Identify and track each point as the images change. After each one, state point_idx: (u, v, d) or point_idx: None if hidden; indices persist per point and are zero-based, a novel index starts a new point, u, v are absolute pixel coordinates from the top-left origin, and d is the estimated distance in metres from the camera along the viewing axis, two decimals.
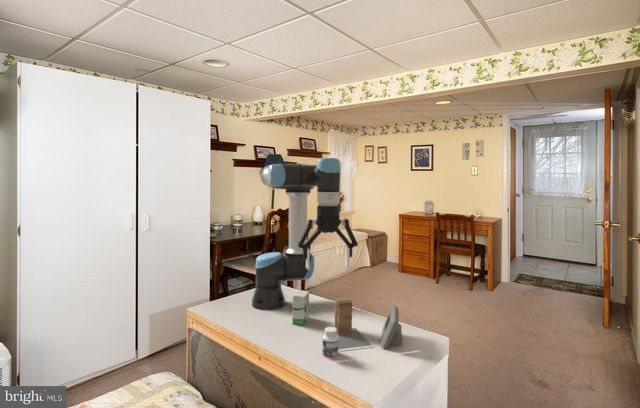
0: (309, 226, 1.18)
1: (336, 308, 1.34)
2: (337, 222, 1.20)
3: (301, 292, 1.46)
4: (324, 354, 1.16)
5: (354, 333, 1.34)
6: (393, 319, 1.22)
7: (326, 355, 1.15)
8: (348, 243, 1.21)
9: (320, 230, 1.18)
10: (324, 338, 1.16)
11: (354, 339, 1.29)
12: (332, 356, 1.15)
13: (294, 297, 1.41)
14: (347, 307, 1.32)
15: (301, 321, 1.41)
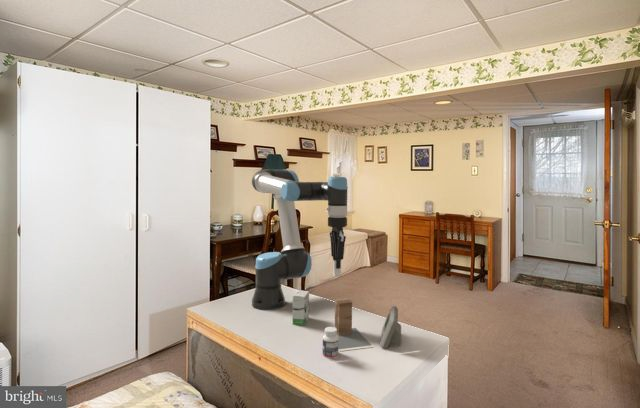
0: (330, 237, 1.45)
1: (336, 308, 1.34)
2: (337, 232, 1.38)
3: (301, 292, 1.46)
4: (324, 354, 1.16)
5: (354, 333, 1.34)
6: (392, 319, 1.22)
7: (326, 355, 1.15)
8: (335, 255, 1.40)
9: (332, 238, 1.42)
10: (324, 338, 1.16)
11: (354, 339, 1.29)
12: (332, 356, 1.15)
13: (294, 297, 1.41)
14: (347, 307, 1.32)
15: (301, 321, 1.41)
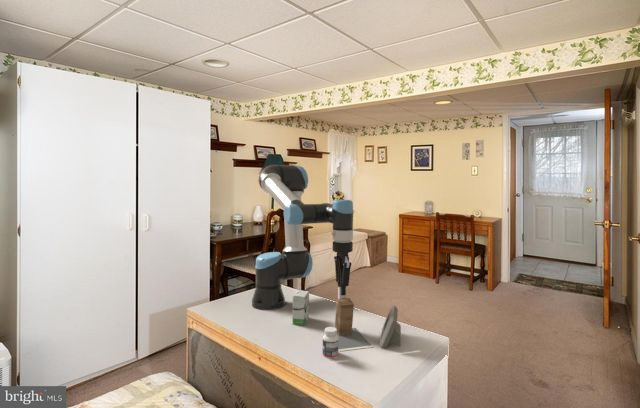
0: (335, 261, 1.40)
1: (337, 308, 1.33)
2: (342, 257, 1.32)
3: (301, 292, 1.46)
4: (324, 354, 1.16)
5: (354, 333, 1.34)
6: (391, 318, 1.22)
7: (326, 355, 1.15)
8: (340, 281, 1.34)
9: (337, 264, 1.36)
10: (324, 338, 1.16)
11: (354, 339, 1.29)
12: (332, 356, 1.15)
13: (294, 297, 1.41)
14: (348, 309, 1.31)
15: (301, 321, 1.41)
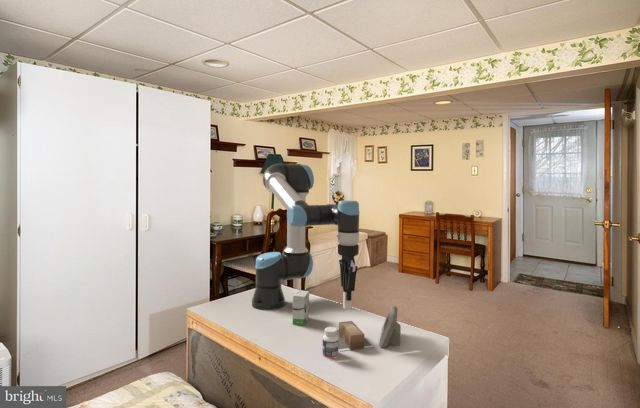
0: (340, 265, 1.34)
1: (347, 337, 1.23)
2: (347, 261, 1.26)
3: (301, 292, 1.46)
4: (324, 354, 1.16)
5: None
6: (391, 318, 1.22)
7: (326, 355, 1.15)
8: (345, 286, 1.28)
9: (342, 267, 1.30)
10: (324, 338, 1.16)
11: None
12: (332, 356, 1.15)
13: (294, 297, 1.41)
14: None
15: (301, 321, 1.41)
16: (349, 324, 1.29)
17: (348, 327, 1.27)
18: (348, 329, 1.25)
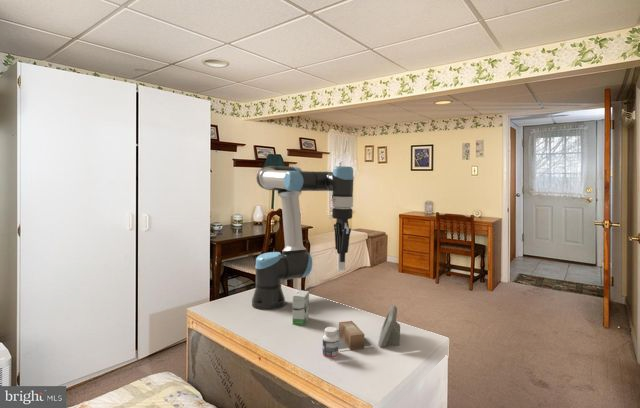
0: (334, 229, 1.40)
1: (347, 337, 1.23)
2: (341, 224, 1.32)
3: (301, 292, 1.46)
4: (324, 354, 1.16)
5: None
6: (390, 318, 1.22)
7: (326, 355, 1.15)
8: (339, 248, 1.34)
9: (336, 231, 1.36)
10: (324, 338, 1.16)
11: None
12: (332, 356, 1.15)
13: (294, 297, 1.41)
14: None
15: (301, 321, 1.41)
16: (349, 324, 1.29)
17: (348, 327, 1.27)
18: (348, 329, 1.25)
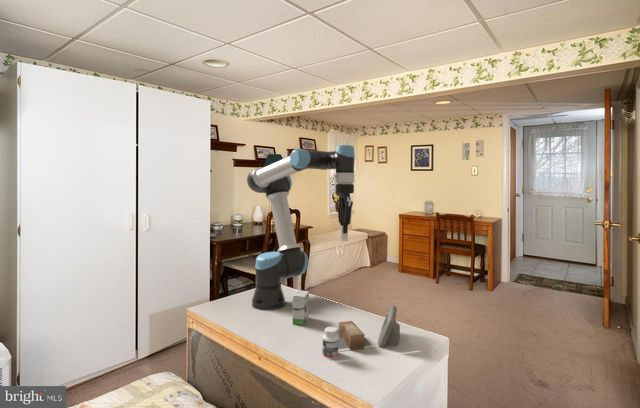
0: (337, 204, 1.52)
1: (347, 337, 1.23)
2: (344, 197, 1.44)
3: (301, 292, 1.46)
4: (324, 354, 1.16)
5: None
6: (389, 318, 1.23)
7: (326, 355, 1.15)
8: (342, 220, 1.46)
9: (339, 205, 1.48)
10: (324, 338, 1.16)
11: None
12: (332, 356, 1.15)
13: (294, 297, 1.41)
14: None
15: (301, 321, 1.41)
16: (349, 324, 1.29)
17: (348, 327, 1.27)
18: (348, 329, 1.25)
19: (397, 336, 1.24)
